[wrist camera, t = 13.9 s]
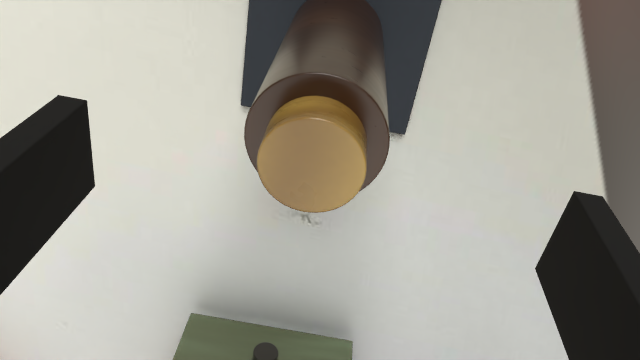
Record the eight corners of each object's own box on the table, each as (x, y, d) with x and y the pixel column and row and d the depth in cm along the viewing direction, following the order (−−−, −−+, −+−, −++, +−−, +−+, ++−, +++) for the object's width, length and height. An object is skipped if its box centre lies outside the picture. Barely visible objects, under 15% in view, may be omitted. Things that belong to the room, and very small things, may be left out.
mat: (452, -43, 24) (453, -42, 23) (404, 131, 29) (404, 135, 28) (256, -79, 24) (255, -78, 23) (242, 102, 28) (240, 105, 28)
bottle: (392, -1, 25) (408, 110, 14) (372, 89, 27) (372, 243, 16) (296, -18, 25) (238, 79, 14) (284, 74, 27) (228, 217, 16)
